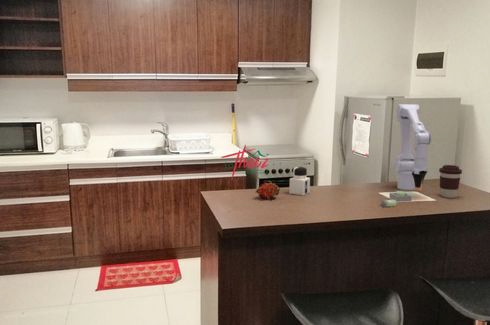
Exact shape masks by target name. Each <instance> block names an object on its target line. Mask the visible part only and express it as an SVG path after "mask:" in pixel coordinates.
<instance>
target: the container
mask: <svg viewBox="0 0 490 325" xmlns="http://www.w3.org/2000/svg"><path fill="white" fill-rule="evenodd" d="M292 171H293V175H292V176H293V177H291V178H289V190H288V192H289V194H290V195H295V196H296V195H297V196H306V195H307V194H309V193H310V191H311V190H310V189H311V178H310V177H307V176H308V175H307V174H308V173H307V172H308V171H307V167H304V166H295V167H294V168H293V170H292Z"/></svg>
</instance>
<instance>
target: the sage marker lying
mask: <svg viewBox="0 0 490 325" xmlns="http://www.w3.org/2000/svg"><path fill="white" fill-rule="evenodd" d="M379 204H380V205H381V208H382V209H383V208H389V207H397V205H398V202H396V200H391V199H381V200H380V203H379Z"/></svg>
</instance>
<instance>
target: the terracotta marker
mask: <svg viewBox="0 0 490 325" xmlns="http://www.w3.org/2000/svg"><path fill="white" fill-rule="evenodd" d="M422 180H423V179H422ZM423 181H424V180H423ZM422 188H423V184H422V183H421V187H420V188H417V187H415V188H414V190H415V191H422V190H423V189H422Z"/></svg>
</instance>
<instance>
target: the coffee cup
mask: <svg viewBox="0 0 490 325" xmlns="http://www.w3.org/2000/svg"><path fill="white" fill-rule="evenodd" d="M438 172H439V174H440V175H439V192H440V193H439V194H440V197H442V198H446V199H447V198H449V199H455V198H457V197H458V196H457V195H458V190H459V188H460V182H461V181H460V180H461V175H462V173H463V169H460V167H459V166H458V165H453V164H444V165H442V167H439V169H438Z"/></svg>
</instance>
